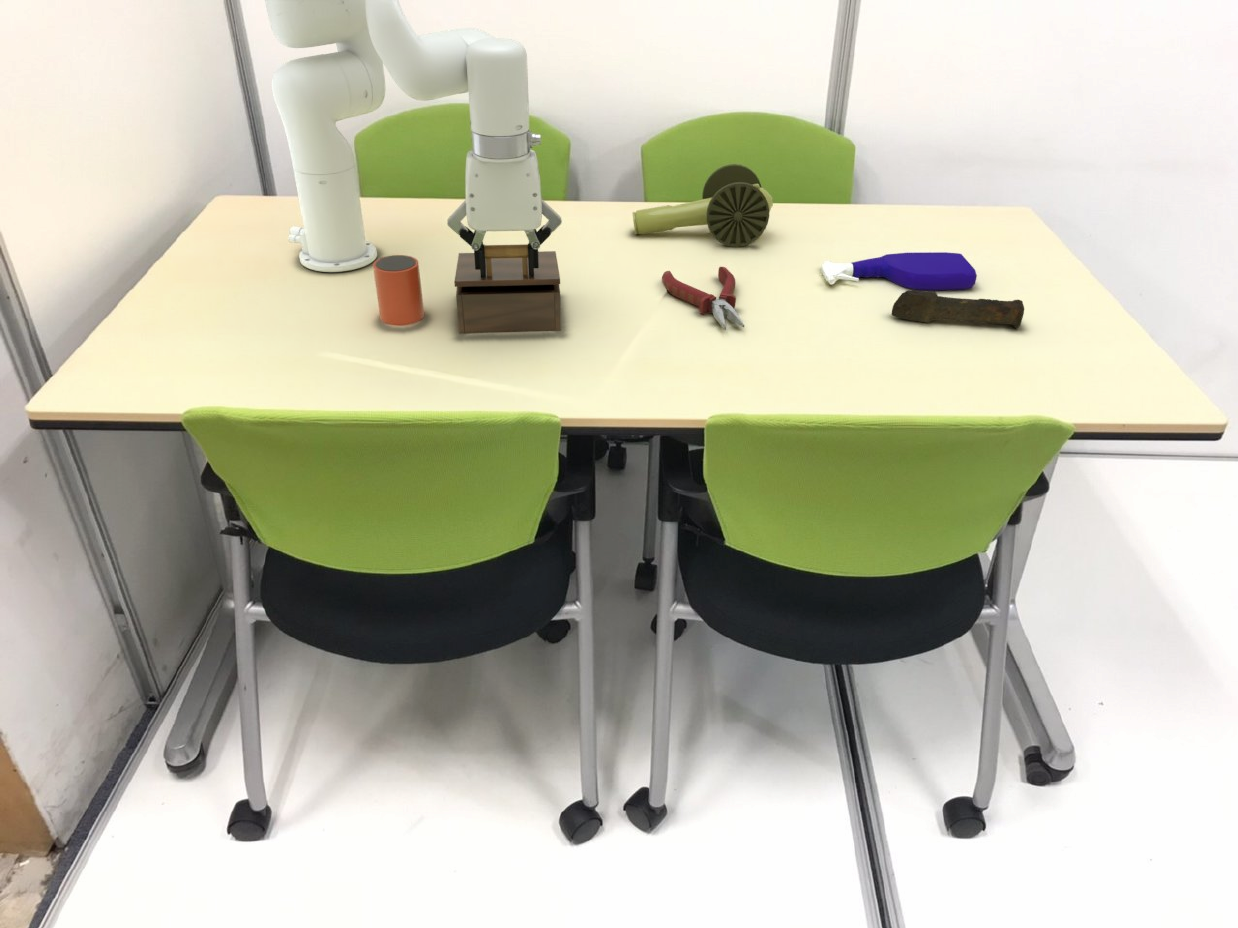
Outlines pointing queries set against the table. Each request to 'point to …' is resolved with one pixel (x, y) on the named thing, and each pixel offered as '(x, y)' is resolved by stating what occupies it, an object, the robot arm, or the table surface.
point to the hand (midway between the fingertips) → (507, 272)
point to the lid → (507, 267)
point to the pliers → (708, 296)
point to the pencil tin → (398, 290)
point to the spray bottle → (909, 270)
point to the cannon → (717, 209)
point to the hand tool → (956, 309)
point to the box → (508, 308)
